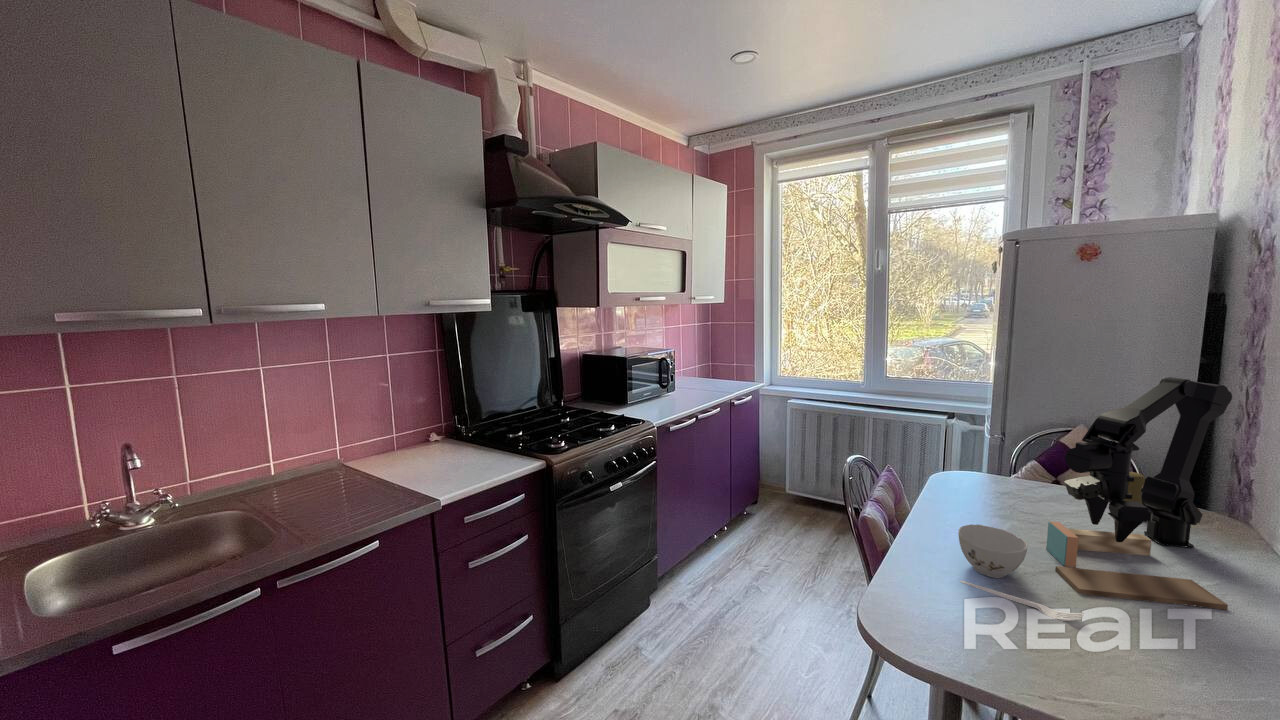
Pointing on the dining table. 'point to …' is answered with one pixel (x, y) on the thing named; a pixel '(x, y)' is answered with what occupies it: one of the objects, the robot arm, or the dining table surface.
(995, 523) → the dining table surface
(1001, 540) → the floral ceramic bowl
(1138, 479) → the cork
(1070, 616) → the fork
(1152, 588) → the rest board
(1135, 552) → the oak scraper
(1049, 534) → the glazed tile
